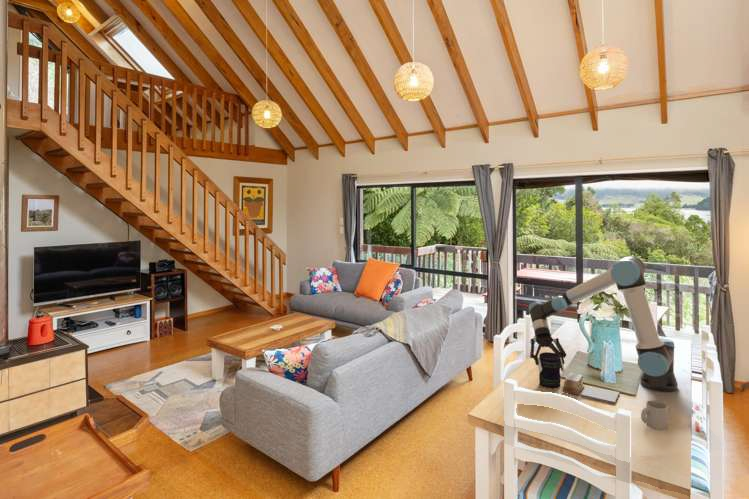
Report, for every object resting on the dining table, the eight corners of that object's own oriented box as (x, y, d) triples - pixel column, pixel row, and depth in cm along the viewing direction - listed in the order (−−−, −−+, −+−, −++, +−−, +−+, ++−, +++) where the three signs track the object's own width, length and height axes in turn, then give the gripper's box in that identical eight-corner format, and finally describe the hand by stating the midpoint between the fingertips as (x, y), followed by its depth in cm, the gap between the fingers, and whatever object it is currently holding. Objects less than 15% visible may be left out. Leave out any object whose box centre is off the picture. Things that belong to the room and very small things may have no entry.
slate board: (619, 394, 199) (619, 392, 199) (614, 404, 190) (614, 401, 190) (586, 387, 208) (586, 385, 208) (580, 396, 198) (580, 394, 198)
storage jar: (535, 385, 213) (535, 356, 211) (544, 379, 220) (544, 350, 218) (555, 390, 206) (555, 360, 204) (563, 384, 212) (564, 355, 211)
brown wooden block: (584, 387, 208) (584, 374, 207) (578, 396, 199) (578, 382, 198) (568, 384, 212) (568, 371, 212) (562, 392, 203) (562, 379, 203)
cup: (672, 429, 167) (672, 408, 167) (647, 431, 167) (648, 409, 166) (658, 420, 175) (659, 399, 174) (635, 422, 174) (635, 401, 173)
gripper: (561, 332, 225) (573, 373, 211) (518, 333, 227) (526, 374, 212) (565, 325, 219) (577, 367, 205) (520, 326, 221) (529, 367, 207)
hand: (551, 370), depth 209 cm, fingers closed on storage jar, 10 cm apart
